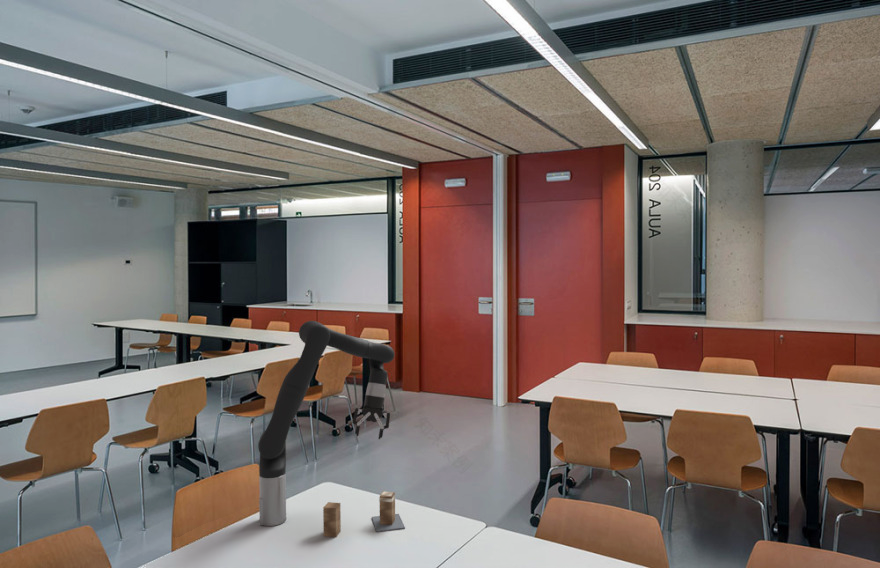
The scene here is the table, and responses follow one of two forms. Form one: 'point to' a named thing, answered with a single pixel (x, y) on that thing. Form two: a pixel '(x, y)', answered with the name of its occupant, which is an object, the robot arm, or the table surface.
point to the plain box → (332, 519)
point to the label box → (387, 508)
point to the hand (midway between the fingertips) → (368, 437)
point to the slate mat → (382, 527)
